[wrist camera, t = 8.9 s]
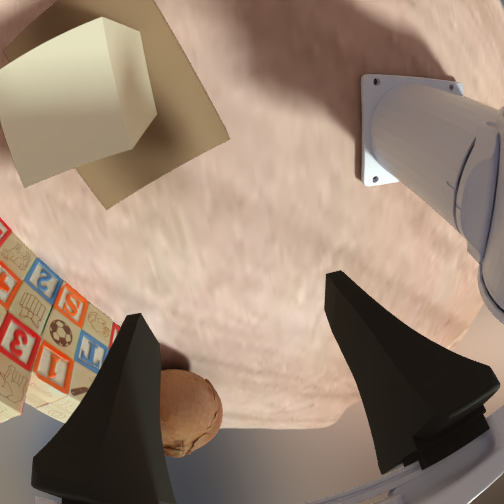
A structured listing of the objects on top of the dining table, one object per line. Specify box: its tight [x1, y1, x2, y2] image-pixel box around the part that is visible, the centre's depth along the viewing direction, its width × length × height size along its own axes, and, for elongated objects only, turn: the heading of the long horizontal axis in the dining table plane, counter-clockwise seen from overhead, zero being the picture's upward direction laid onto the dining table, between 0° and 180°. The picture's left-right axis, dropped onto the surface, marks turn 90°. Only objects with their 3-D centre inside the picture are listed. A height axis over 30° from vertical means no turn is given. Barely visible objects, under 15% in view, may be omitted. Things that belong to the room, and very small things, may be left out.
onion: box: [160, 368, 223, 457], centre depth 26 cm, size 10×9×10 cm
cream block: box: [0, 17, 157, 188], centre depth 9 cm, size 4×4×6 cm
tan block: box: [3, 0, 230, 210], centre depth 13 cm, size 8×12×3 cm, turn 24°
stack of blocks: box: [0, 218, 121, 423], centre depth 16 cm, size 21×6×12 cm, turn 30°
